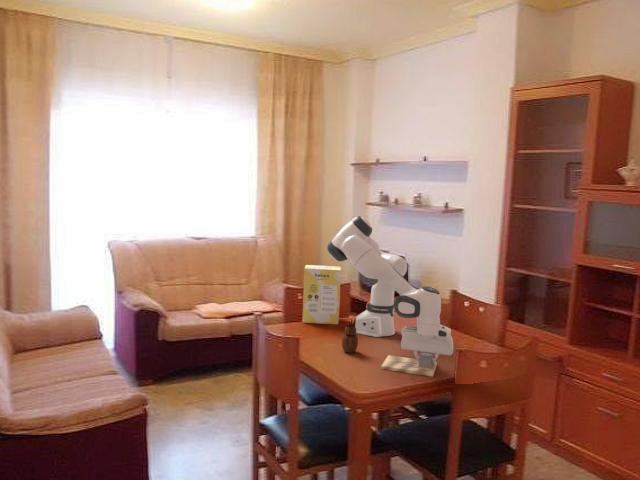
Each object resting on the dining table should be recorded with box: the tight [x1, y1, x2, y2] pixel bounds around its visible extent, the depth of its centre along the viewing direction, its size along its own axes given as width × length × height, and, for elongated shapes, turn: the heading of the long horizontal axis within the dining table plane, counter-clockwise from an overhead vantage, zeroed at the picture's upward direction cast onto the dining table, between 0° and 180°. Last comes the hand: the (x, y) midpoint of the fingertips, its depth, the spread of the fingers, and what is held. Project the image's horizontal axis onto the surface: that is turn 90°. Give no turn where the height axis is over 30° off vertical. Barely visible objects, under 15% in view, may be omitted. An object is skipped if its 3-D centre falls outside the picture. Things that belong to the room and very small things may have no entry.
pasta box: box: [302, 264, 342, 325], centre depth 275 cm, size 18×10×28 cm, turn 86°
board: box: [380, 354, 438, 378], centre depth 213 cm, size 20×14×1 cm
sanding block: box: [418, 352, 434, 370], centre depth 211 cm, size 4×8×4 cm, turn 162°
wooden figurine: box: [341, 317, 359, 354], centre depth 228 cm, size 7×6×15 cm
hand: (425, 362), depth 211 cm, fingers closed on sanding block, 4 cm apart
